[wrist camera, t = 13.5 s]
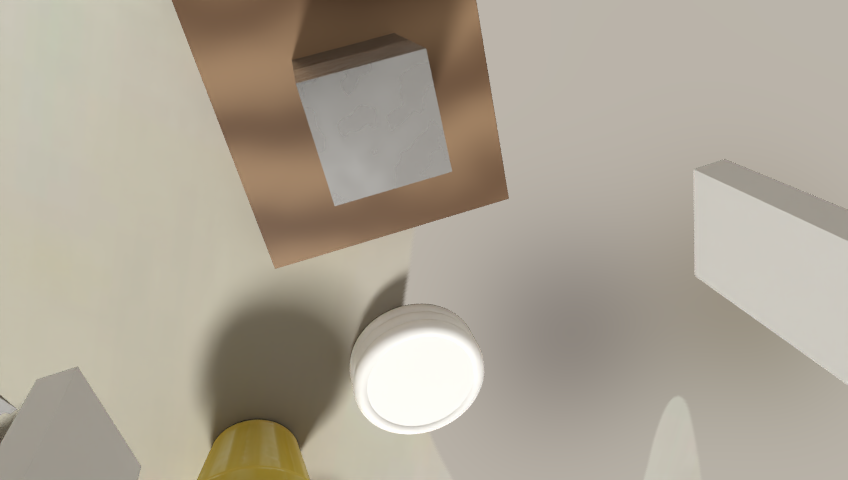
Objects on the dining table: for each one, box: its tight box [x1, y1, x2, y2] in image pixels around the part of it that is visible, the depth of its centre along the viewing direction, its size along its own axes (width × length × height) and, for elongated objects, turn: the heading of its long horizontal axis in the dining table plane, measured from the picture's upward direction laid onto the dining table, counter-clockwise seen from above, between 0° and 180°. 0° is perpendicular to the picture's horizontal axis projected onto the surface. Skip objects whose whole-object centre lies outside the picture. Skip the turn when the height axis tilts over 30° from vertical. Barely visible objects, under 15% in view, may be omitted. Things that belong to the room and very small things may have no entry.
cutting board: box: [172, 0, 509, 269], centre depth 36 cm, size 18×16×2 cm
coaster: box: [350, 304, 484, 434], centre depth 45 cm, size 10×10×4 cm
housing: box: [292, 33, 452, 206], centre depth 31 cm, size 6×6×8 cm
